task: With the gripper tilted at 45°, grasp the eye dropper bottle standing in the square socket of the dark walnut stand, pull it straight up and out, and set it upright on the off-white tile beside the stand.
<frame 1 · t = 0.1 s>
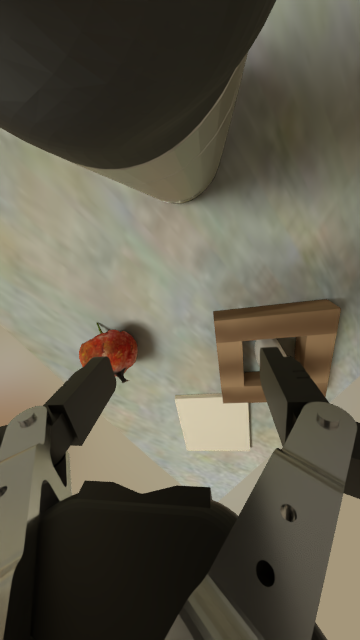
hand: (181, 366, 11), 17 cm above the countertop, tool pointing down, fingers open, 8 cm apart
eye dropper bottle: (266, 349, 30), resting in walnut socket stand
off-white tile: (214, 422, 37), on the countertop
walnut socket stand: (266, 350, 30), on the countertop
pomegranate: (118, 338, 32), on the countertop
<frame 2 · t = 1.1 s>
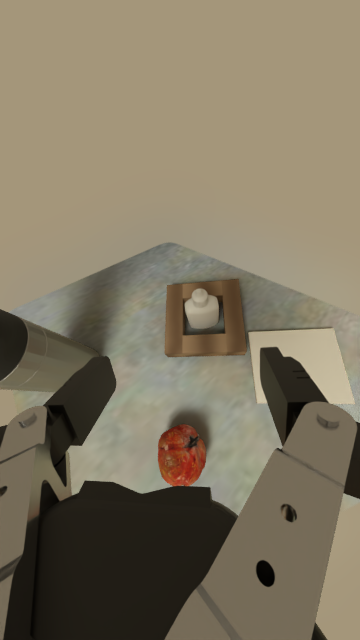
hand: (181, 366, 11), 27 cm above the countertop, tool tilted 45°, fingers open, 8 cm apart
eye dropper bottle: (204, 321, 41), resting in walnut socket stand
off-white tile: (294, 365, 35), on the countertop
walnut socket stand: (204, 320, 40), on the countertop
pomegranate: (184, 449, 33), on the countertop
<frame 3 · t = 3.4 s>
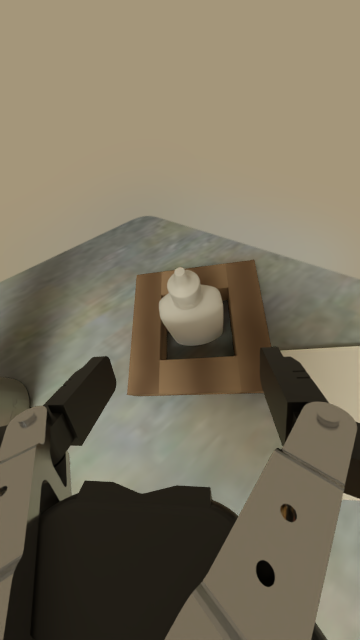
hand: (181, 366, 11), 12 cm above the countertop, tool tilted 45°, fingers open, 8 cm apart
eye dropper bottle: (198, 332, 24), resting in walnut socket stand
walnut socket stand: (198, 331, 24), on the countertop
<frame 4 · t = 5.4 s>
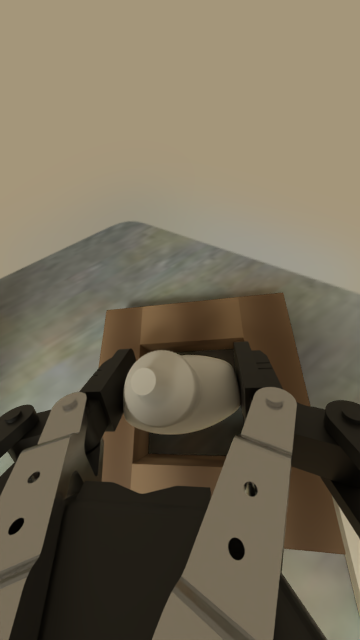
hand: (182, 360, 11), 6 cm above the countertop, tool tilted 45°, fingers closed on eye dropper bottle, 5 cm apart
eye dropper bottle: (196, 398, 16), resting in walnut socket stand, touching gripper
walnut socket stand: (196, 398, 16), on the countertop
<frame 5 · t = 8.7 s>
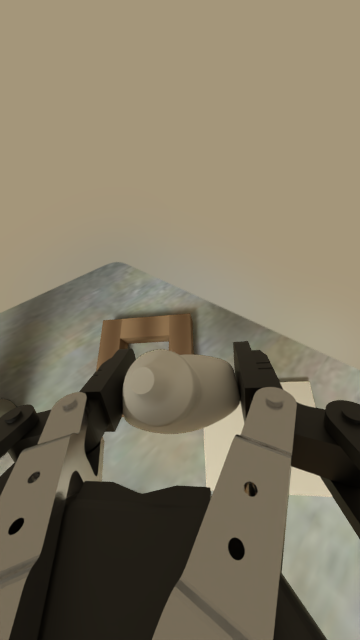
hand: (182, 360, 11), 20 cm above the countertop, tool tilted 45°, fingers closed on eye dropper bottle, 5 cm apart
eye dropper bottle: (196, 397, 16), point 13 cm above the countertop, touching gripper
off-white tile: (259, 432, 26), on the countertop
walnut socket stand: (149, 365, 32), on the countertop
when the fingers open (8 cm above the countertop, at t = 11.9 s): eye dropper bottle stays where it is, resting on off-white tile.
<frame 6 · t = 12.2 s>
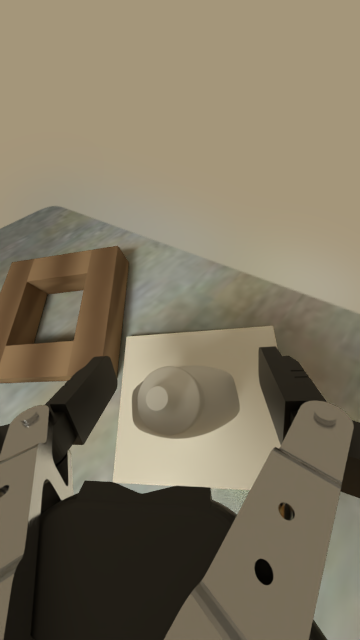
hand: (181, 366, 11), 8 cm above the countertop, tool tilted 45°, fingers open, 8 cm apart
eye dropper bottle: (197, 401, 17), point 1 cm above the countertop, touching off-white tile
off-white tile: (199, 399, 18), on the countertop
walnut socket stand: (67, 319, 24), on the countertop
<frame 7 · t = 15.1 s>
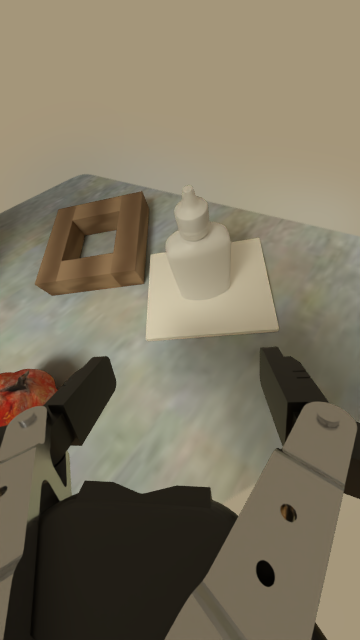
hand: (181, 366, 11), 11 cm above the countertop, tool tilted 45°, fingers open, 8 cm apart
eye dropper bottle: (204, 288, 24), point 1 cm above the countertop, touching off-white tile
off-white tile: (205, 289, 25), on the countertop
walnut socket stand: (103, 250, 31), on the countertop
pomegranate: (45, 408, 23), on the countertop
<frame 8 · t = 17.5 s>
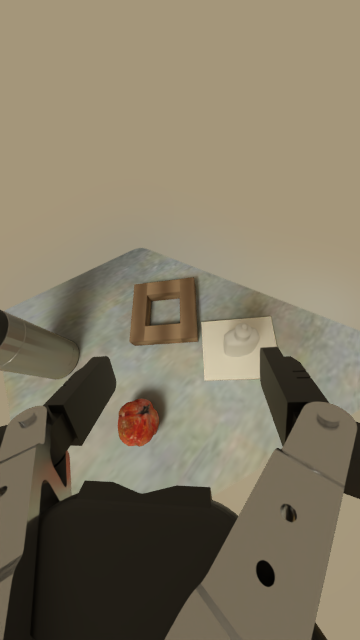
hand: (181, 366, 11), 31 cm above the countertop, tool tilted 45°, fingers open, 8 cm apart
eye dropper bottle: (238, 348, 40), point 1 cm above the countertop, touching off-white tile
off-white tile: (238, 348, 41), on the countertop
walnut socket stand: (166, 314, 47), on the countertop
pomegranate: (144, 420, 39), on the countertop
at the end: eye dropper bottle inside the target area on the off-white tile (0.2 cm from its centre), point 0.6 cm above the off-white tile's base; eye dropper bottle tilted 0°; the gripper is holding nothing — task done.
